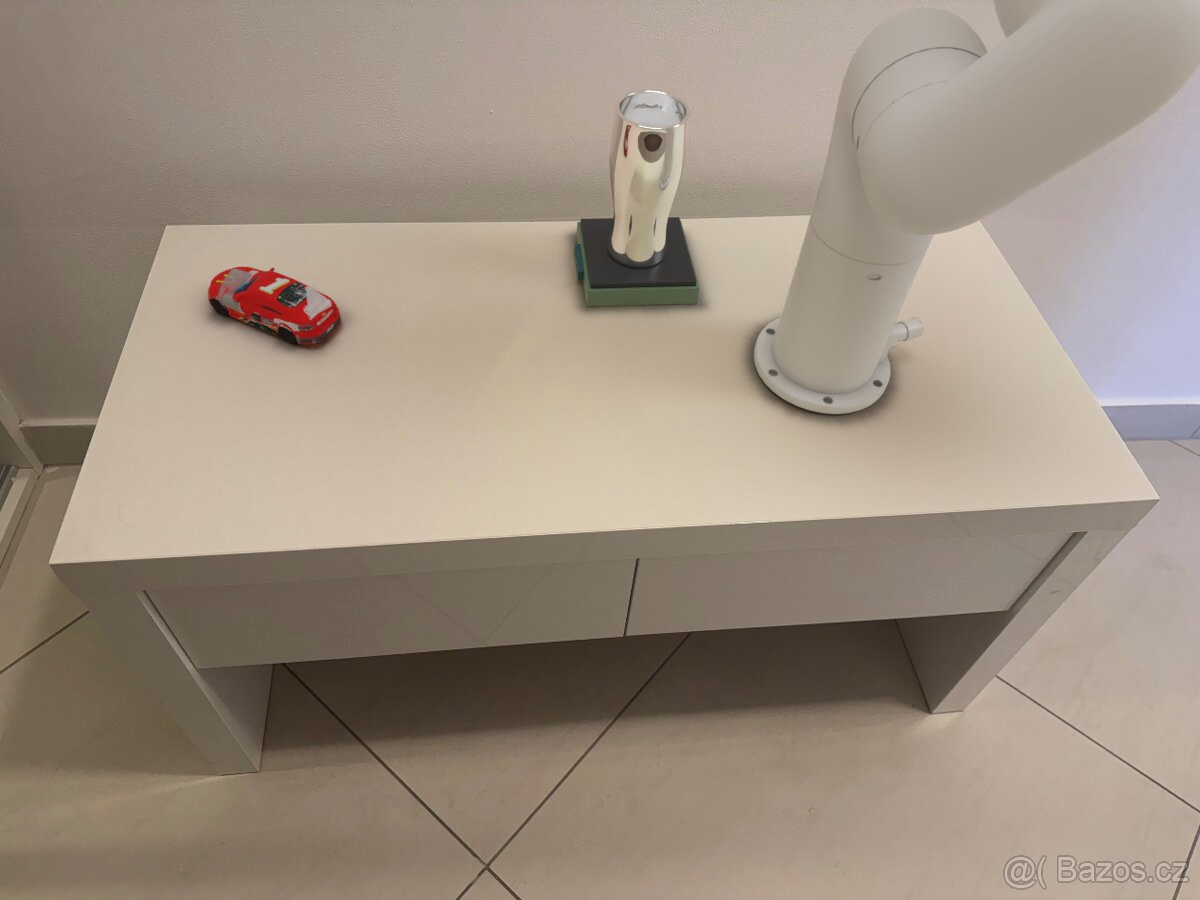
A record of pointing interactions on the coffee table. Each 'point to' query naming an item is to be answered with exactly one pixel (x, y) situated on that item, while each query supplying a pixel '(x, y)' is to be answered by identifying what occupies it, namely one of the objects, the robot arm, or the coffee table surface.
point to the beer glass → (645, 173)
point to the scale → (633, 269)
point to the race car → (274, 304)
